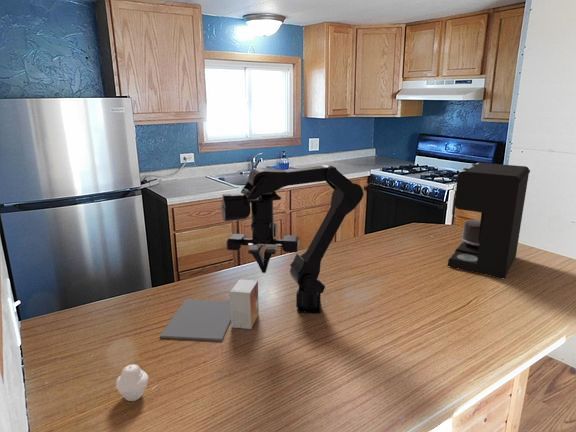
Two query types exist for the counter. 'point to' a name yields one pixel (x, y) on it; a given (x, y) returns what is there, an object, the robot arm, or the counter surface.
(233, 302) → the small box
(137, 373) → the muffin
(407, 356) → the counter surface
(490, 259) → the coffee maker
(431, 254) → the counter surface
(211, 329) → the mat
